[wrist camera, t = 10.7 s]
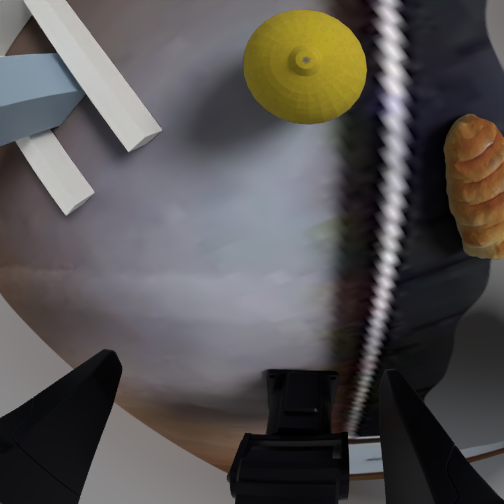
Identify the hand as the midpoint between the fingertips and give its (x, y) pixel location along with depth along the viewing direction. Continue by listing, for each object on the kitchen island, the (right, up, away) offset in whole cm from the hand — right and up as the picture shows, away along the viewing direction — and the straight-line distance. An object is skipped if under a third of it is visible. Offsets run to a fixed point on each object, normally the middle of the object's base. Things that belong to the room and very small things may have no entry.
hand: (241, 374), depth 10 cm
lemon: (+3, +14, +7) cm, 16 cm away
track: (-13, +16, +9) cm, 22 cm away
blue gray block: (-13, +16, +9) cm, 22 cm away
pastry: (+16, +8, +8) cm, 20 cm away
